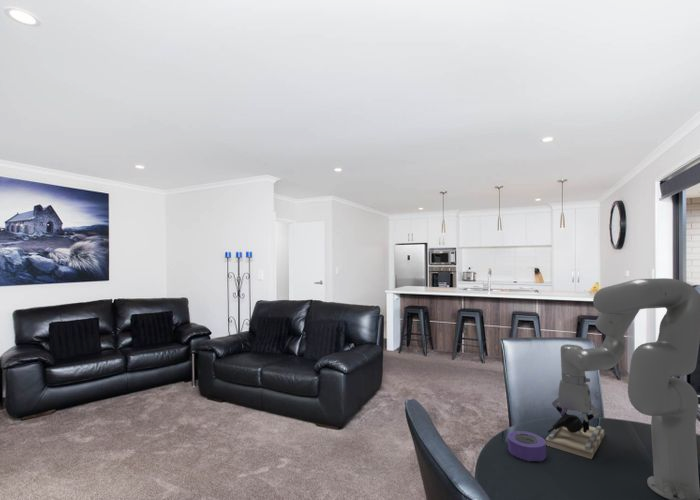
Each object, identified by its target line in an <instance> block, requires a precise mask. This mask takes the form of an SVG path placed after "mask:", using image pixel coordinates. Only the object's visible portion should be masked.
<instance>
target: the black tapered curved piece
mask: <svg viewBox="0 0 700 500" xmlns="http://www.w3.org/2000/svg"><path fill="white" fill-rule="evenodd" d="M561 426H562V427H563V426H565V427H566V428H567V429H568V431H570V432H571V433H575V432H579V433H580V434H581V435H583V433H582V432H581V431H580V430H581V429H582V428H583V421H582V420H581V419H580V418H579V417H578V416H577V415H574V414H568V413H567V414H565V415H564V416H563V417H562V416H561V417H560V418H559V419H558V420H556V421H555V423H554V424H553V425H552V427H551V428H550V429H549V430H547V431H546V432H547V434H550V433H551V432H552V431H553V430H554V429H555V430H557V429H559V428H560V427H561Z"/></svg>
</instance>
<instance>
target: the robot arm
mask: <svg viewBox="0 0 700 500" xmlns="http://www.w3.org/2000/svg"><path fill="white" fill-rule="evenodd" d="M592 303H593V306H594V308H595V309H596V310H597V312H598V313H600V314H599V315H598V317H597V318H596V320H595V323H594V324H595V327H596V329H597V330H598V331H600V332H601V333H602V334H603V335H605V338H604V340H603V342H602V343H601V345H600V346H599V347H595V348H592V347H591V348H584V347H582V346H580V345H578V344H563V345H561V346H560V367H561V368H560V370H561V379H560V380H559V384H558V385H559V386H558V396H557V398H556V399H555V400H553V401H552V403H551V405H552V406H553V407H554V408H555V409H556V411H558V413H559V414H560V415H561V417H563V416H564V415H565V414H568V413H567V412H568V410H569V411H572V412H576V413H580V414H581V416H582V417H583V421H582V423H583V432H585V433H586V432H587V430H589V426H590V421H591V420H592V419H594V418H596V417H597V416H599V415H600V412H599V410H598V409H597V408H596V407H595V406H594V405H593V404H592V397H591V391H590V387H589V384H588V383H591V378H589V377H587V376H586V372H595V371H605V370H611V369H612V368H614V367H615V366H617V364H618V363H619V361H620V360H621V358H622V357H623V355H624V353H625V351H626V339H625V334H626V333H627V331H628V329H629V328H630V326H631V324H632V323H633V321H634V319H635V318H636V317H637V315H638V313H639V312H640V311H641V310H644V309H661V308H662V309H663V308H665V309H666V311H665V314H664V316H662V319H661V321H660V322H659V323H660V324H659V330H658V331H659V332H658V337H657V340H656V341H653V342H645V343H642V344H640V345H639V346H637V347H636V348H635V350H634V351H633V353H632V354H631V359H630V367H629V374H628V375H629V376H628V385H627V395H628V400H629V403H630V404H631V405H632V407H633V408H634V409H635V410H636V411H638V413H641V414H642V415H644V416H647V417H648V416H650V417H651V421H650V423H651V424H650V426H651V427H650V429H651V430H650V431H651V433H650V434H651V449H652V467H653V468H652V469H653V475H651V476H649V477H648V478H647V486H648V487H649V488H650V490H651V491H653V492H654V493H656V494H657V495H659V496H660V497H663V498H664V499H667V500H700V480H699V467H698V466H699V463H698V449H697V448H698V447H697V445H698V444H697V430H696V428H697V427H696V425H697V414H698V409H699V397H698V394H697V392H696V390H695V388H694V387H693V386H692V385H691V384H690V383H688V382H687V381H686V380H684V379H682V378H678V377H683V376H687V375H690V374H692V373H694V371H695V370H696V368H697V364H698V356H699V349H700V348H699V347H700V292H699V291H698V289H696V288H695V287H694V286H693V285H691V284H689V283H688V282H685V281H683V280H680V279H675V278H665V277H664V278H661V277H660V278H658V277H657V278H638V279H632V280H627V281H625V282H620V283H617V284H613V285H610V286H605V287H602V288H600V289H599V290H597V292H595V294H594V296H593V301H592ZM590 411H591V413H590ZM589 413H590V414H589ZM564 427H565V426H564ZM565 428H566V427H565Z"/></svg>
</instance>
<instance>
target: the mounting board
mask: <svg viewBox="0 0 700 500" xmlns="http://www.w3.org/2000/svg"><path fill="white" fill-rule="evenodd" d="M580 431H581V432H582V433H583V435H581V434H580V433H579V432H575V433H571V432H570V431H568V429H567V428H565V427H564V426H563V427H562V426H561V427H560V428H559V429H557V430H555V429H554V430H553V431H551V432H550V433H549V435H547V437H546V438H545V439H544V440H545V445H547V446H546V447H549V446H550V448H554V449H557V450H559V451H560V450H561V451H563V452H566V453H570V454H573V455H576V456H580V457H583V458H587V459H589V460H592V459H594V455H595V453H596V452H597V451H598V448H599V446H600V445H601V443H602V440H603V439H604V438H605V435H606V433H605V429H604V428H603V429H602V426H600V425H597V426H596V427H594V426H592V425H591V426H590V425H589V430H587V432H586V433H585V432H583V428H582V429H581V430H580Z"/></svg>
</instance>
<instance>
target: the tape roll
mask: <svg viewBox="0 0 700 500" xmlns="http://www.w3.org/2000/svg"><path fill="white" fill-rule="evenodd" d="M546 448H547V446H546V445H545V439H544V438H543V437H542V436H540V435H538V434H536V433H533V432H529V431H523V430H517V431H511V432H509V433H508V434H507V450H509V451H508V453H509V452H510V453H511V454H513V455H515V456H516V457H519V458H521V459H524V460H523V461H525V460H529V461H528V462H530V461H540V462H543V461H545V460H546V459H547V452H546V451H547V449H546ZM510 453H509V454H510ZM511 454H510V455H511ZM513 455H512V456H513ZM516 457H515V458H516ZM545 458H546V459H545ZM521 459H520V460H521ZM544 459H545V460H544ZM542 460H543V461H542Z"/></svg>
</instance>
